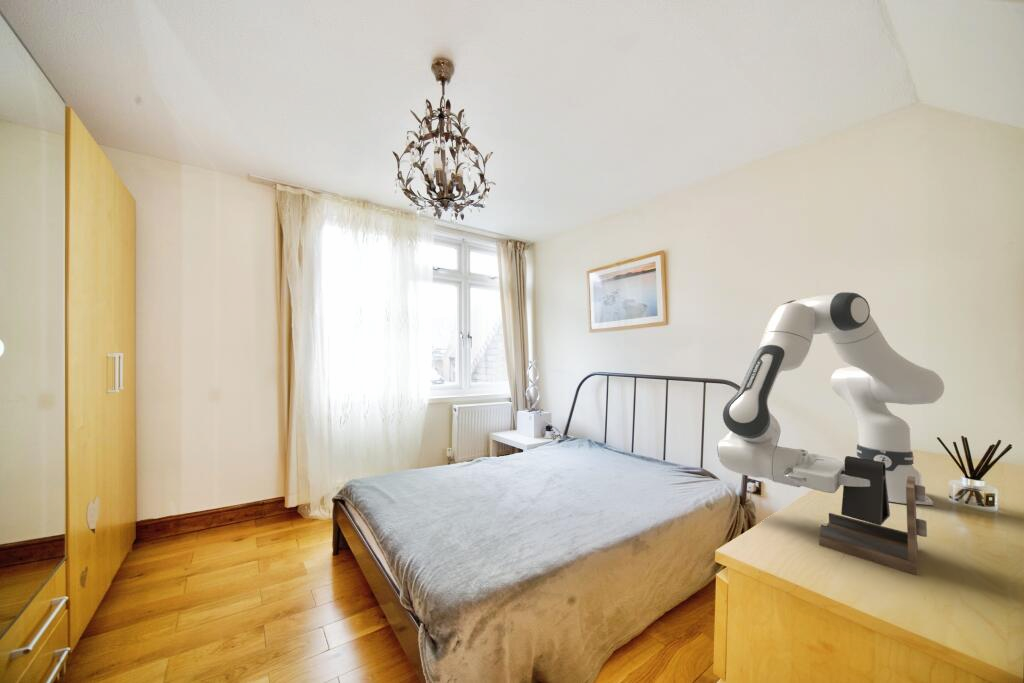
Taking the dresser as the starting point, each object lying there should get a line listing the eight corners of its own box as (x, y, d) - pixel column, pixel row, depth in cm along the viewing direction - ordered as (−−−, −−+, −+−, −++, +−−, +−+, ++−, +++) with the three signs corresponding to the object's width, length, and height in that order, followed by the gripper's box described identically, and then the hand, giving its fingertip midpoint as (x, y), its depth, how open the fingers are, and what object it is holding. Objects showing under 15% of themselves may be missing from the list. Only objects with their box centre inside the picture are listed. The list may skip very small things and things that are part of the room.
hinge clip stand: (831, 525, 88) (829, 460, 89) (927, 551, 76) (924, 476, 77) (819, 545, 78) (817, 472, 79) (927, 578, 66) (924, 492, 67)
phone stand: (880, 525, 73) (878, 465, 74) (841, 514, 78) (839, 458, 79) (890, 516, 78) (889, 459, 79) (853, 506, 83) (852, 453, 84)
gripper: (780, 460, 81) (865, 476, 71) (800, 448, 95) (875, 460, 84) (780, 489, 81) (866, 509, 71) (801, 472, 95) (876, 487, 84)
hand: (871, 482), depth 78 cm, fingers closed on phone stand
